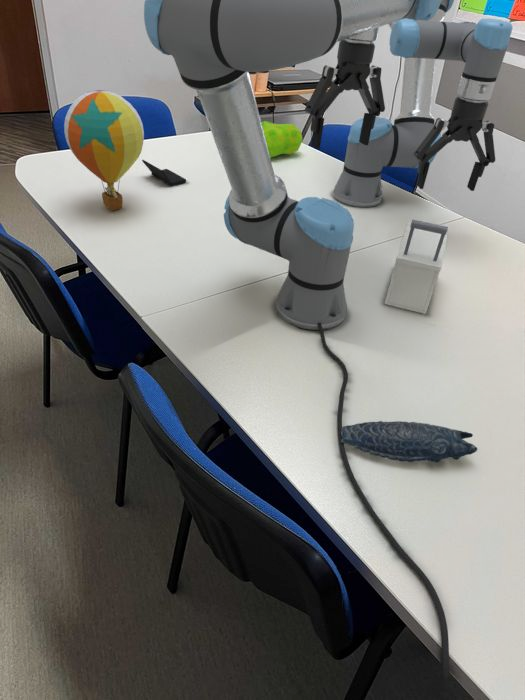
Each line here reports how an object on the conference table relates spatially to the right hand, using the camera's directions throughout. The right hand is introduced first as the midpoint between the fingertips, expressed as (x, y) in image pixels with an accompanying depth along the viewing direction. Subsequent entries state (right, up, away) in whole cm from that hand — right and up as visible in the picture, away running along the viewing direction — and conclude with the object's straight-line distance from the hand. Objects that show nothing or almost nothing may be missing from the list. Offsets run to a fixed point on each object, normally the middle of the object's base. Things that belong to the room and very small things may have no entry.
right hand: (445, 188), depth 133 cm
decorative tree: (-47, +30, +57) cm, 80 cm away
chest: (-12, -28, -11) cm, 32 cm away
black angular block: (-78, +12, +31) cm, 85 cm away
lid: (-11, -19, -18) cm, 29 cm away
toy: (-89, -2, +12) cm, 90 cm away
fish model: (-24, -58, -50) cm, 80 cm away
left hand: (-29, +6, -12) cm, 32 cm away
